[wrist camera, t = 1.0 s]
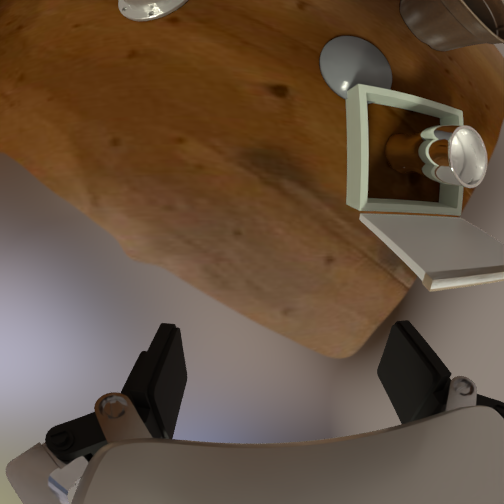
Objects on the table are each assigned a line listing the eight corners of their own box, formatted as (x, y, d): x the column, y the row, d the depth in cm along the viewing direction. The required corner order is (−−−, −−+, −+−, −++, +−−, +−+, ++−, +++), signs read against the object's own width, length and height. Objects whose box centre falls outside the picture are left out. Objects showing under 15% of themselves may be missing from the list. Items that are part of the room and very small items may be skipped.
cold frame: (345, 92, 31) (358, 83, 26) (443, 113, 31) (462, 111, 26) (346, 204, 36) (359, 210, 31) (442, 208, 36) (460, 215, 31)
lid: (433, 279, 17) (429, 291, 17) (535, 266, 17) (532, 274, 17) (360, 213, 31) (359, 221, 32) (461, 217, 31) (460, 224, 31)
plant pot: (472, 50, 26) (527, 34, 10) (433, 75, 29) (500, 55, 13) (419, -16, 21) (462, -49, 6) (370, -1, 25) (414, -49, 9)
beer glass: (378, 130, 33) (443, 121, 18) (416, 130, 32) (484, 125, 18) (385, 178, 35) (450, 192, 21) (422, 174, 34) (490, 188, 20)
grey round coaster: (316, 33, 28) (317, 30, 27) (385, 45, 28) (387, 44, 27) (321, 99, 31) (322, 98, 31) (392, 109, 31) (395, 108, 31)
